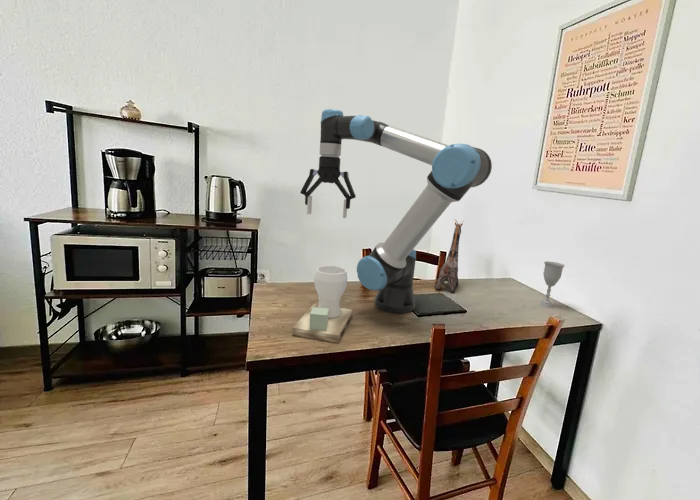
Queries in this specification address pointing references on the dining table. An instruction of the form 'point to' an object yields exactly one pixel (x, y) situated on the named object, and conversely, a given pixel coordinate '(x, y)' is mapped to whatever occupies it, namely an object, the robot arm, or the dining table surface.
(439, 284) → the toy
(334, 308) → the cup
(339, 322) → the dock
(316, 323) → the pale green cube
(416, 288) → the dining table surface
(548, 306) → the chalice
